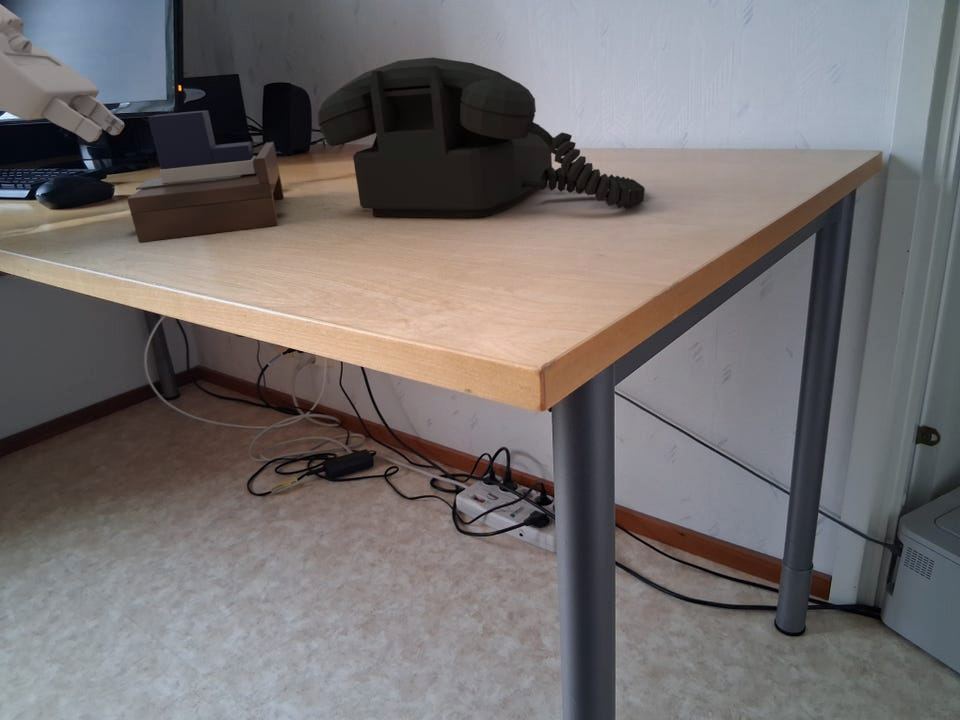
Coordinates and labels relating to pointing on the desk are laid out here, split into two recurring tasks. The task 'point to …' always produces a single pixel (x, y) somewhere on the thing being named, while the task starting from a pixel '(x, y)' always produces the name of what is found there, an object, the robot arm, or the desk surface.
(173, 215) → the shoe shelf
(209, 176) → the trainer
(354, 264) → the desk surface
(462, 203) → the rotary telephone
